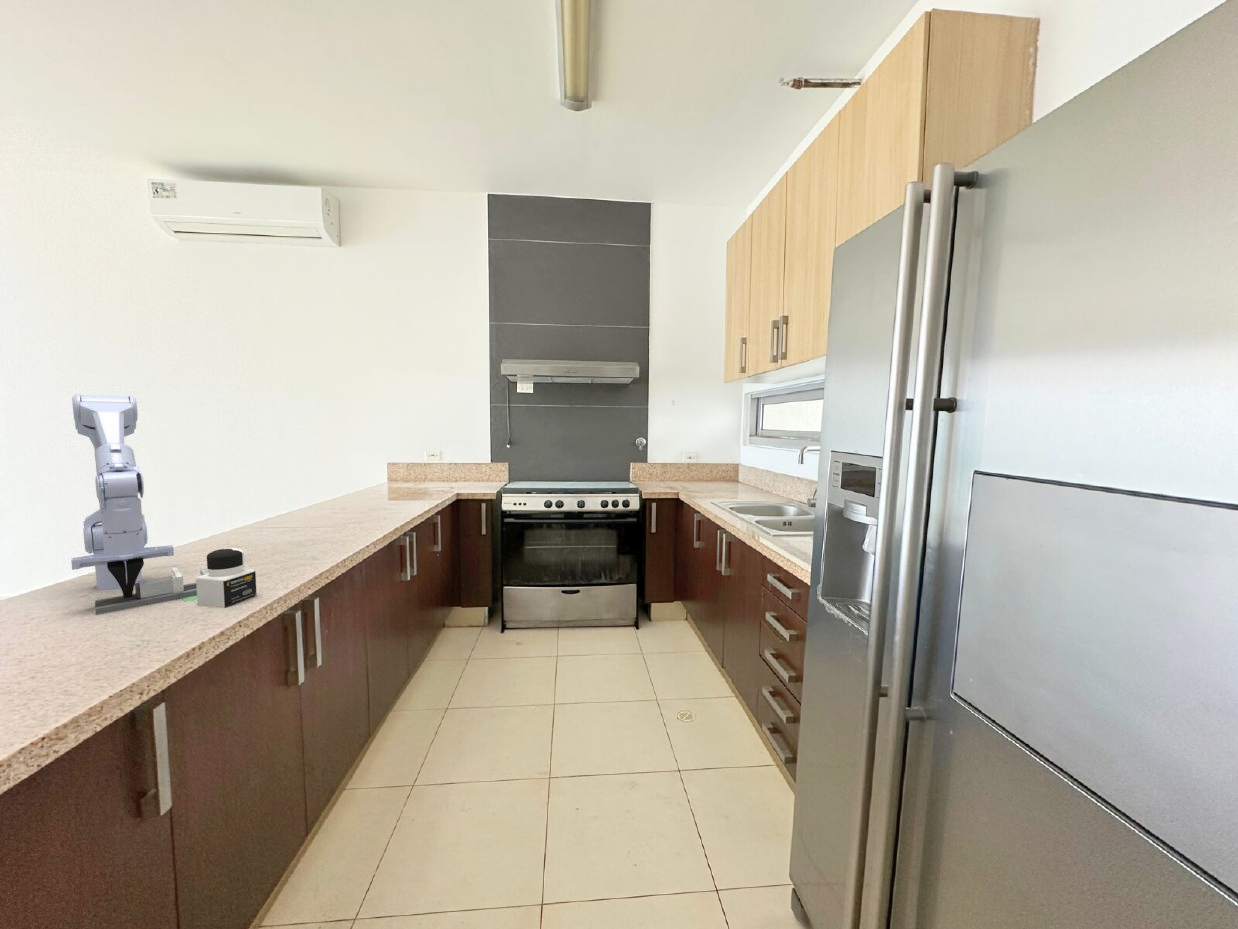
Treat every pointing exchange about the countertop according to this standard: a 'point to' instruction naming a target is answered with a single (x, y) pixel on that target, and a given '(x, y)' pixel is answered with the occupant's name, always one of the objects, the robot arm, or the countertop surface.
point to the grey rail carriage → (154, 587)
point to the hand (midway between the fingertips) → (128, 596)
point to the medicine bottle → (225, 579)
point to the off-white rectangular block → (177, 580)
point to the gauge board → (148, 601)
